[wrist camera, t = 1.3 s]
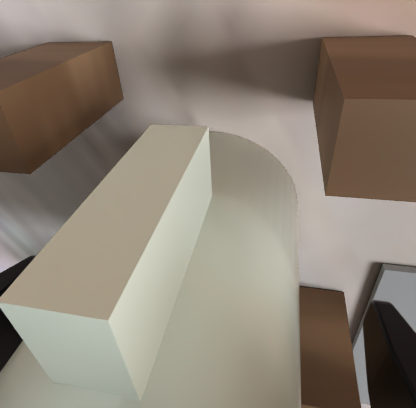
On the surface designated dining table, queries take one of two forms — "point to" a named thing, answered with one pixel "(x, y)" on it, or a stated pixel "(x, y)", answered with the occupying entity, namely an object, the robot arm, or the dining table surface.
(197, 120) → the dining table surface
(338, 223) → the dining table surface
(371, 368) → the robot arm
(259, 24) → the dining table surface
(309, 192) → the dining table surface
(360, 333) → the slate mat
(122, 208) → the cylinder with square knob
